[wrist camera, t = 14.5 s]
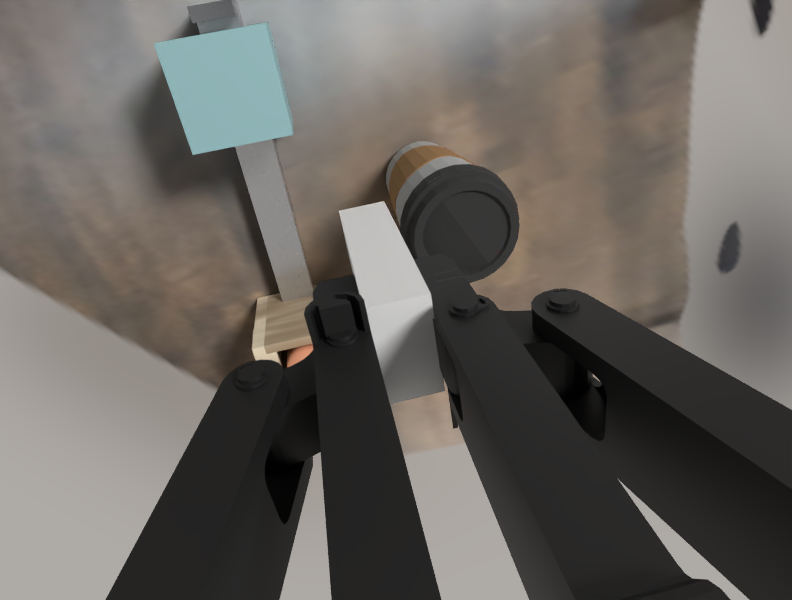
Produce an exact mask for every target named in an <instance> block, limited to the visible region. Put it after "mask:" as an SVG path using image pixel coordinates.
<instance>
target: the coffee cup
mask: <svg viewBox="0 0 792 600" xmlns="http://www.w3.org/2000/svg"><path fill="white" fill-rule="evenodd" d="M386 184H387V188H388V191H389V196H390V200H391V203H392V206H393V210H394V213H395V216H396V219H397V222H398V225H399V226H400V234H401V236H402V238H403V240H404V242H405V244H406V245H407V247H408V249H409V251H410V253H411V255H412V257H413V259H419V258H423V257H428V256H432V255H437V254H443V255H445V256H447V257H450V258H452V259H453V260H454V261H455V263H456V264H457V266H458V267H459V269H460V270H461V272H462V273H463V276H465V278H466V279H467V281H468V282H469V283H471V282H474V281H477V280H480V279H483V278H485V277H487V276H489V275H490V274H492V273H494V272H495V271H496V270H497V269H498V268H500V267H501V266H502V265H503V264H504V263H505V262H506V260H507V259H508V257H509V256H510V254H511V253H512V251H513V249H514V247H515V244H516V242H517V239H518V233H519V215H518V208H517V203H516V201H515V199H514V197H513V195H512V193H511V191H510V190H509V189H508V188H507V186H506V184H505V183H504V182H503V181H502V180H501V179H500V178H499V177H498V176H497V175H496V174H494V173H493V172H491V171H489V170H488V169H486V168H484V167H480V166H476V165H474V164H473V163H471V162H470V161H468V160H466V159H465V158H463V157H461V156H459V155H457V154H456V153H454V152H452V151H450V150H448V149H447V148H443V147H441V146H439V145H437V144H436V143H432V142H428V141H419V142H414V143H411V144H408V145H407V146H405V147H403V148H402V149H400V150H399V151H398V152H397V153H396V154H395V155H394V157H393V158H392V160H391V162H390V164H389V166H388V169H387V173H386Z"/></svg>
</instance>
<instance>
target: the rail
mask: <svg viewBox="0 0 792 600" xmlns="http://www.w3.org/2000/svg"><path fill="white" fill-rule="evenodd" d="M187 8H188V11H189V15H190V18H191V21H192V23H197V25H198V29H199V32H200V34H205V33H211V32H216V31H222V30H227V29H233V28H238V27H243V23H242V19H241V15H240V12H239V8H238V4H237V1H236V0H222V1H217V2H211V3H205V4H200V5H194V6H189V7H187ZM235 149H236V152H237V155H238V158H239V162H240V165H241V168H242V171H243V175H244V178H245V181H246V184H247V187H248V191H249V194H250V197H251V200H252V204H253V207H254V210H255V213H256V217H257V220H258V223H259V226H260V230H261V233H262V236H263V239H264V243H265V246H266V249H267V252H268V255H269V259H270V262H271V265H272V268H273V272H274V275H275V278H276V281H277V285H278V288H279V291H280V294H281V298H282V301H283V302H285V301H290V300H294V299H299V298H303V297H308V296H312V295H313V291H314V286H313V282H312V278H311V274H310V271H309V267H308V263H307V260H306V256H305V252H304V249H303V245H302V241H301V237H300V234H299V230H298V226H297V223H296V219H295V215H294V212H293V208H292V204H291V200H290V197H289V193H288V189H287V186H286V182H285V178H284V175H283V171H282V167H281V163H280V160H279V156H278V152H277V149H276V145H275V141H274V139H270V140H265V141H260V142H255V143H250V144H245V145H240V146H235Z"/></svg>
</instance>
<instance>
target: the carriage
mask: <svg viewBox="0 0 792 600" xmlns="http://www.w3.org/2000/svg"><path fill="white" fill-rule="evenodd" d="M154 46H155V49H156V52H157V54H158V57H159V60H160V63H161V66H162V69H163V71H164V74H165V77H166V80H167V83H168V86H169V89H170V91H171V94H172V97H173V100H174V103H175V106H176V109H177V111H178V114H179V117H180V120H181V123H182V126H183V128H184V131H185V134H186V137H187V140H188V143H189V146H190V148H191V151H192V154H193V155H195V154H200V153H205V152H210V151H215V150H220V149H225V148H230V147H235V146H240V145H245V144H250V143H255V142H260V141H265V140H270V139H275V138H280V137H285V136H290V135H293V119H292V115H291V111H290V107H289V103H288V98H287V94H286V90H285V86H284V82H283V78H282V74H281V70H280V66H279V62H278V58H277V54H276V50H275V46H274V42H273V38H272V34H271V30H270V26H269V22H265V23H259V24H254V25H248V26H243V27H238V28H233V29H227V30H222V31H216V32H211V33H205V34H200V35H194V36H189V37H183V38H178V39H173V40H168V41H163V42H158V43H154Z"/></svg>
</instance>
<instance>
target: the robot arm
mask: <svg viewBox="0 0 792 600" xmlns="http://www.w3.org/2000/svg"><path fill="white" fill-rule="evenodd" d="M339 214H340V218H341V223H342V227H343V232H344V236H345V241H346V245H347V249H348V254H349V258H350V263H351V267H352V272H353V275H349V276H344V277H340V278H335V279H331V280H326V281H322V282H319V283H318V285H317V286H316V288H315V289H314V291H313V301H311V302H310V303H309V304H308V305H307V306H306V308H305V311H304V317H305V320H306V323H307V327H308V330H309V334H310V337H311V341H312V344H313V351H312V352H311V353H310V354H309V355H308V356H307V357H305V358H304V359H303V360H301V361H300V362H298V363H296V364H294V365H292V366H290V367H287V368H285V369H283V368H282V366H281V365H280V363H278V362H276V361H273V360H256V361H251V362H248V363H246V364H243V365H241V366H239V367H237V368H236V369H234V370H233V371H232V372H230V373H229V374H228V375H227V376H226V377H225V379H224V380H223V381H222V383H221V385H220V387H219V388H218V390H217V392H216V394H215V396H214V398H213V400H212V402H211V403H210V406H209V407H208V409H207V411H206V413H205V415H204V417H203V419H202V420H201V422H200V424H199V426H198V428H197V430H196V431H195V433H194V435H193V438H192V439H191V441H190V443H189V445H188V446H187V449H186V450H185V452H184V454H183V456H182V458H181V460H180V461H179V463H178V465H177V467H176V469H175V471H174V473H173V475H172V476H171V478H170V480H169V482H168V484H167V486H166V488H165V490H164V491H163V493H162V496H161V497H160V499H159V501H158V503H157V504H156V506H155V509H154V510H153V512H152V514H151V516H150V518H149V520H148V522H147V523H146V525H145V527H144V529H143V531H142V533H141V534H140V536H139V538H138V540H137V542H136V544H135V546H134V548H133V549H132V551H131V553H130V555H129V557H128V559H127V561H126V563H125V564H124V566H123V568H122V570H121V572H120V574H119V576H118V578H117V580H116V581H115V583H114V585H113V587H112V589H111V591H110V593H109V595H108V596H107V598H106V600H279V599H280V595H281V591H282V587H283V583H284V579H285V575H286V571H287V566H288V563H289V559H290V555H291V550H292V547H293V543H294V539H295V535H296V531H297V527H298V523H299V519H300V515H301V511H302V506H303V503H304V499H305V495H306V491H307V486H308V483H309V479H310V475H311V471H312V467H313V456H314V455H315V454H317V453H319V452H321V460H322V461H321V462H322V476H323V489H324V503H325V516H326V529H327V542H328V555H329V569H330V583H331V596H332V600H441V597H440V593H439V589H438V585H437V582H436V578H435V574H434V570H433V566H432V563H431V559H430V555H429V552H428V547H427V543H426V540H425V536H424V532H423V528H422V525H421V520H420V517H419V513H418V509H417V505H416V501H415V498H414V494H413V490H412V486H411V482H410V479H409V475H408V471H407V467H406V463H405V459H404V456H403V452H402V448H401V444H400V440H399V436H398V433H397V429H396V425H395V421H394V417H393V414H392V410H391V406H390V404H393V403H397V402H401V401H405V400H409V399H413V398H418V397H422V396H426V395H430V394H434V393H438V392H442V391H445V387H444V381H443V377H444V380H445V382H446V384H447V387H448V394H449V401H450V408H451V415H452V422H453V428H457V427H458V425H459V428H460V430H461V433H462V435H463V438H464V440H465V443H466V445H467V447H468V450H469V452H470V455H471V457H472V460H473V462H474V465H475V467H476V469H477V472H478V474H479V477H480V479H481V482H482V484H483V487H484V489H485V492H486V494H487V497H488V499H489V501H490V504H491V506H492V509H493V511H494V514H495V516H496V519H497V521H498V524H499V526H500V528H501V531H502V533H503V536H504V538H505V541H506V543H507V546H508V548H509V551H510V553H511V556H512V558H513V561H514V563H515V566H516V568H517V570H518V573H519V575H520V578H521V580H522V583H523V585H524V587H525V590H526V593H527V595H528V598H529V600H730V599H729V598H728V597H727V595H726V594H725V593H724V592H723V591H722V590H721V589H720V588H719V587H717V586H716V585H715V584H713V583H712V582H710V581H709V580H704V579H692V578H691V577H689V576H688V575H686V574H685V573H684V572H683V570H682V569H681V568H680V567H679V566H678V564H677V563H676V562H675V560H674V559H673V557H672V556H671V554H670V553H669V552H668V550H667V549H666V548H665V546H664V545H663V543H662V542H661V540H660V539H659V537H658V536H657V535H656V533H655V532H654V530H653V529H652V527H651V526H650V525H649V523H648V522H647V520H646V519H645V517H644V516H643V515H642V513H641V512H640V510H639V509H638V507H637V506H636V505H635V503H634V502H633V500H632V499H631V497H630V496H629V495H628V493H627V492H626V490H625V489H624V488H623V486H622V485H621V483H620V482H619V480H620V481H621V482H622V483H623V484H624V485H625V486H626V487H627V488H628V489H630V490H631V491H632V492H633V493H634V494H635V495H636V496H637V497H638V498H639V499H641V500H642V501H643V502H644V503H645V504H646V505H647V506H648V507H649V508H650V509H651V510H652V511H654V512H655V513H656V514H657V515H658V516H659V517H660V518H661V519H662V520H663V521H664V522H666V523H667V524H668V525H669V526H670V527H671V528H672V529H673V530H674V531H676V533H678V534H679V535H680V536H681V537H682V538H683V539H684V540H685V541H686V542H687V543H688V544H690V545H691V546H692V547H693V548H694V549H695V550H696V551H697V552H698V553H699V554H700V555H702V556H703V557H704V558H705V559H706V560H707V561H708V562H709V563H710V564H711V565H712V566H714V567H715V568H716V569H717V570H718V571H719V572H720V573H721V574H722V575H723V576H724V577H726V578H727V579H728V580H729V581H730V582H731V583H732V584H733V585H734V586H735V587H737V588H738V589H739V590H740V591H741V592H742V593H743V594H744V595H745V596H746V597H747V598H748V599H750V600H792V410H791V409H789V408H787V407H785V406H784V405H782V404H780V403H778V402H777V401H775V400H773V399H771V398H770V397H768V396H766V395H764V394H762V393H761V392H759V391H757V390H755V389H754V388H752V387H750V386H748V385H747V384H745V383H743V382H741V381H740V380H738V379H736V378H734V377H732V376H731V375H729V374H727V373H725V372H723V371H722V370H720V369H718V368H716V367H715V366H713V365H711V364H709V363H708V362H706V361H704V360H702V359H701V358H699V357H697V356H695V355H694V354H692V353H690V352H688V351H686V350H685V349H683V348H681V347H679V346H678V345H676V344H674V343H672V342H671V341H669V340H667V339H665V338H664V337H662V336H660V335H658V334H656V333H655V332H653V331H651V330H649V329H648V328H646V327H644V326H642V325H641V324H639V323H637V322H635V321H633V320H632V319H630V318H628V317H626V316H625V315H623V314H621V313H619V312H618V311H616V310H614V309H612V308H610V307H609V306H607V305H605V304H603V303H602V302H600V301H598V300H596V299H595V298H593V297H591V296H589V295H588V294H585V293H583V292H580V291H577V290H571V289H553V290H550V291H546V292H543V293H541V294H539V295H537V296H536V297H535V298H534V299H533V301H532V302H531V304H532V310H531V311H503V310H499V309H498V308H497V307H496V305H495V304H494V302H492V301H491V300H490V299H489V298H487V297H484V296H481V295H477V294H476V293H475V291H474V290H473V288H472V287H471V285H470V284H469V282H468V281H467V279H466V278H465V276H463V273H462V272H461V270H460V269H459V267H458V266H457V264H456V263H455V261H454V260H453V259H452V258H450V257H447V256H445V255H443V254H437V255H432V256H428V257H423V258H419V259H413V257H412V255H411V253H410V251H409V249H408V247H407V245H406V244H405V242H404V240H403V238H402V236H401V234H400V232H399V230H398V228H397V226H396V224H395V222H394V220H393V218H392V216H391V214H390V212H389V210H388V208H387V206H386V204H385V202H384V201H382V202H377V203H373V204H368V205H363V206H359V207H354V208H349V209H345V210H340V211H339ZM593 374H594V375H595V376H596V377H597V378H598V379H599V380H600V381H601V382H599V381H598V380H597V379H595V378H594V377H593ZM617 478H618V479H619V480H618V479H617Z"/></svg>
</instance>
